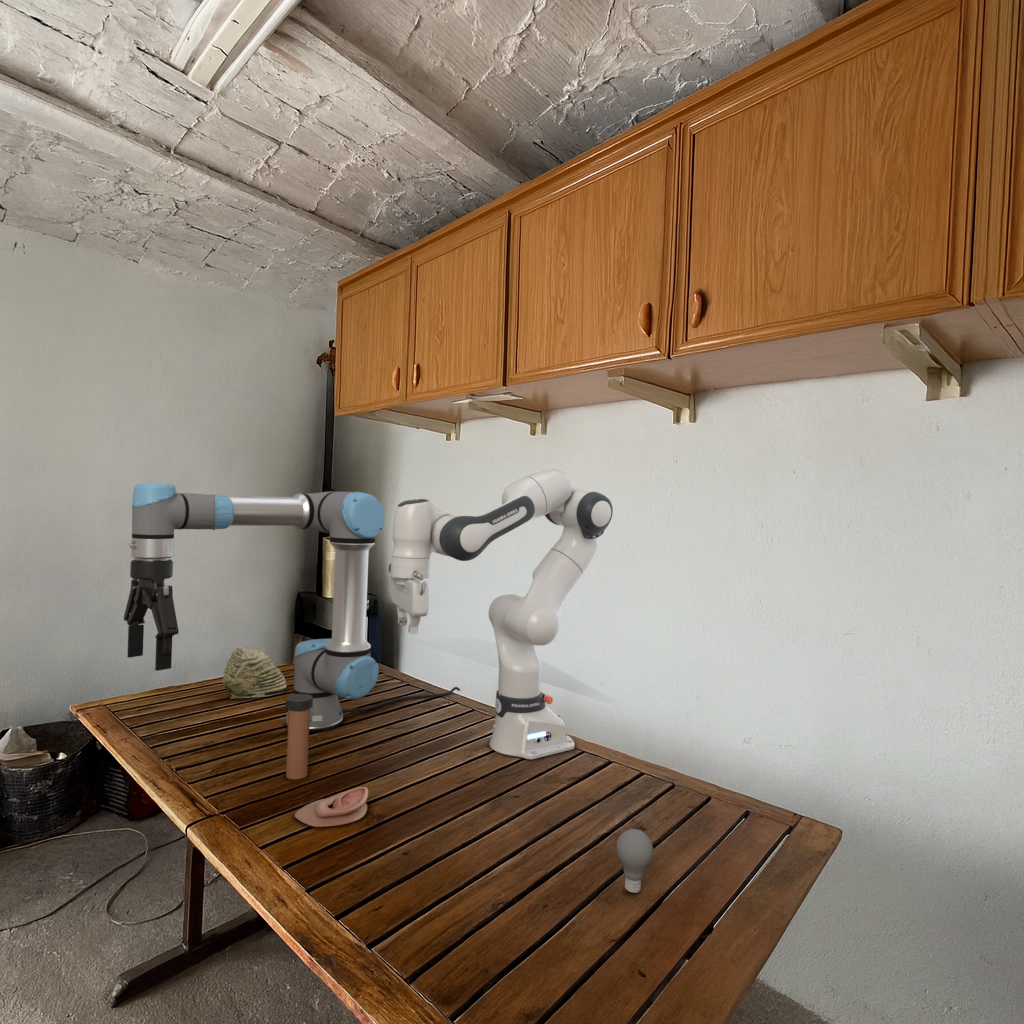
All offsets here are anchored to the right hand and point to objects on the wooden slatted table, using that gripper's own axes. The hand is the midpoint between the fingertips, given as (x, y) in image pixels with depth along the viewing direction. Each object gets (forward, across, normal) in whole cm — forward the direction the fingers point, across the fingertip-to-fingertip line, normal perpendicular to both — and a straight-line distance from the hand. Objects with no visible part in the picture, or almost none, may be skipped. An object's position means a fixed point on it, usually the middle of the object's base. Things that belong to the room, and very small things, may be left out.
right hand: (407, 629), depth 146 cm
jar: (+34, +7, +22) cm, 41 cm away
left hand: (+6, +5, +52) cm, 53 cm away
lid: (+16, +7, +22) cm, 29 cm away
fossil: (+34, +70, +29) cm, 83 cm away
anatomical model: (+34, -14, +17) cm, 40 cm away
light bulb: (+34, -56, -25) cm, 70 cm away
